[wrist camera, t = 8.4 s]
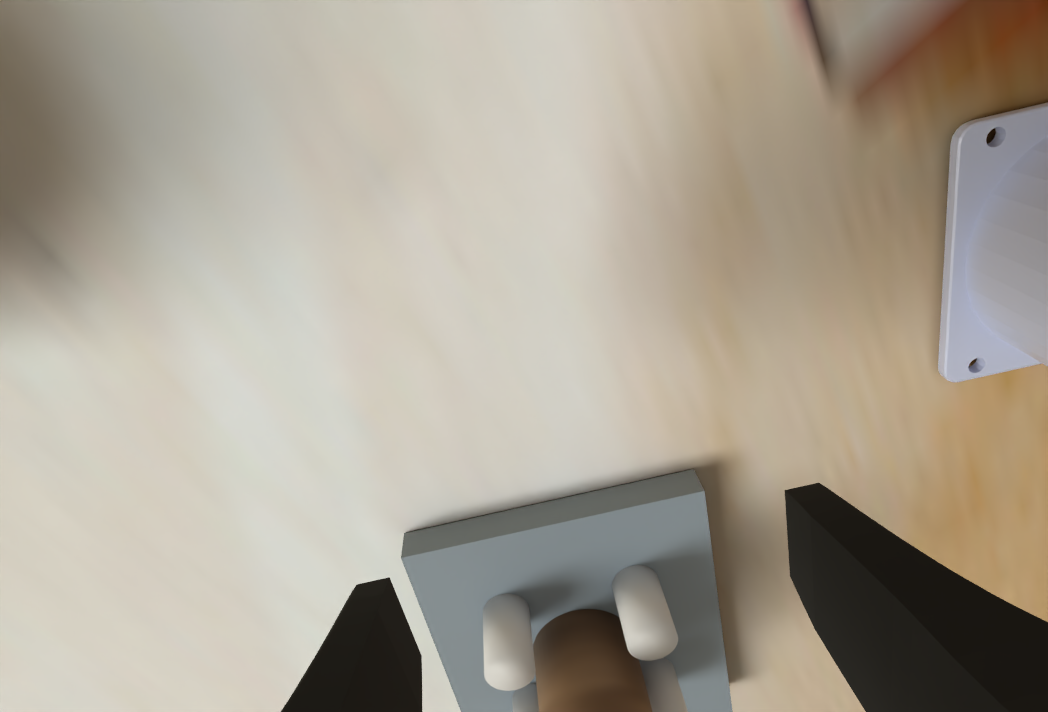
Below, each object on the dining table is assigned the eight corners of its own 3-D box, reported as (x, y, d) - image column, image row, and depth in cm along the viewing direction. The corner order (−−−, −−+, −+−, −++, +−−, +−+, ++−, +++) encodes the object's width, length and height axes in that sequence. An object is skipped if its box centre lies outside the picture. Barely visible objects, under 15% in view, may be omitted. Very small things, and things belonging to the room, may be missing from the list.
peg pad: (693, 469, 23) (731, 543, 20) (722, 687, 28) (756, 776, 25) (404, 533, 23) (393, 617, 20) (482, 738, 28) (484, 833, 25)
